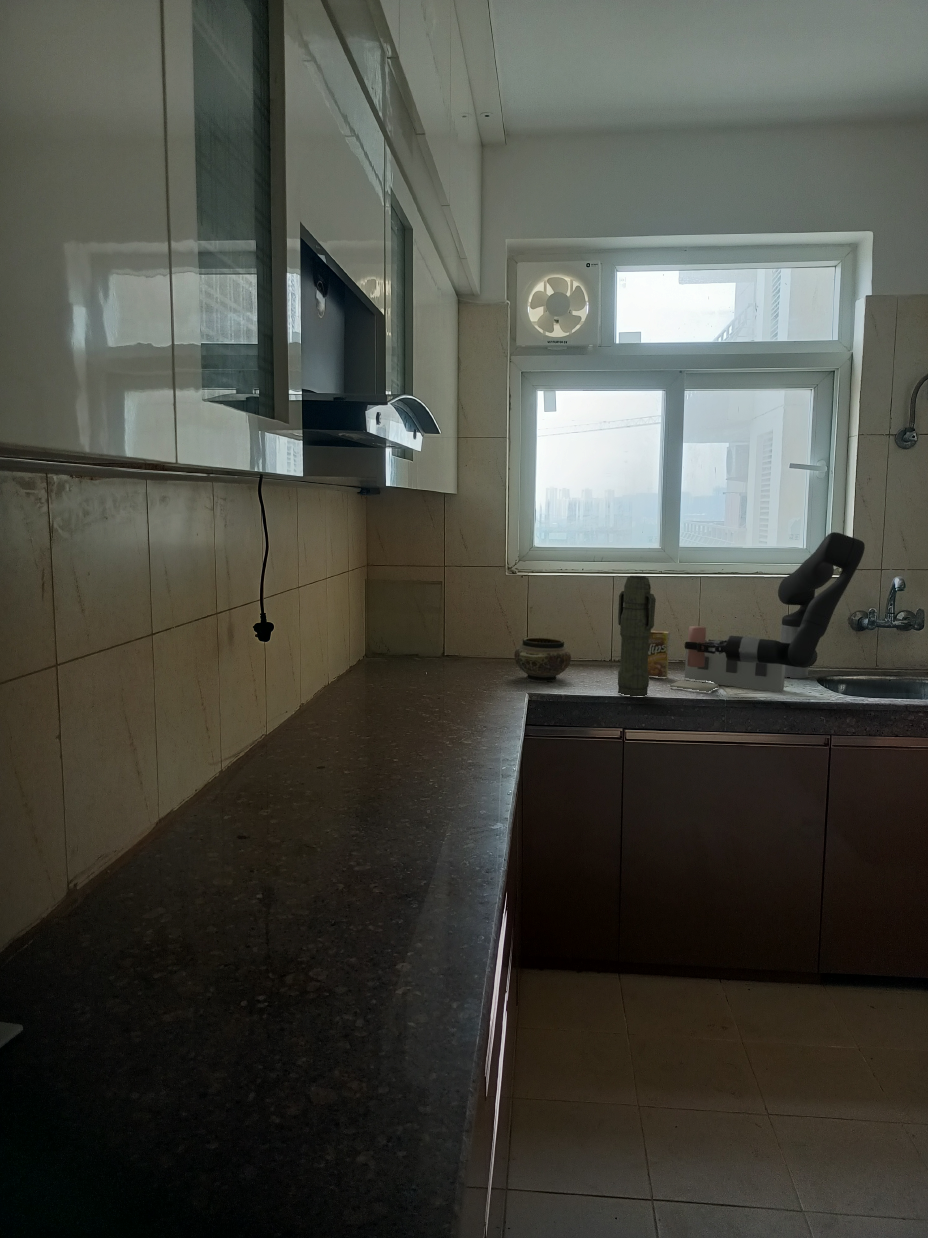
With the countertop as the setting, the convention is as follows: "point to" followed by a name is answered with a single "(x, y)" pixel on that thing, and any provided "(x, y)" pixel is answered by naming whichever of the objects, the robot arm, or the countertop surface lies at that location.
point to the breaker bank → (738, 673)
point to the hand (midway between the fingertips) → (688, 644)
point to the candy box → (658, 653)
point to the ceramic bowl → (542, 658)
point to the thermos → (635, 635)
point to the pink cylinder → (693, 656)
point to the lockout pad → (694, 685)
